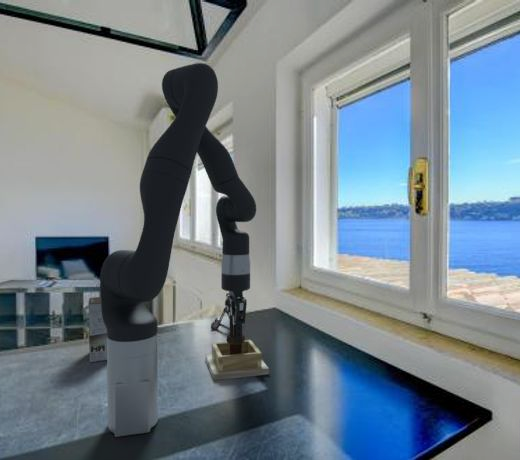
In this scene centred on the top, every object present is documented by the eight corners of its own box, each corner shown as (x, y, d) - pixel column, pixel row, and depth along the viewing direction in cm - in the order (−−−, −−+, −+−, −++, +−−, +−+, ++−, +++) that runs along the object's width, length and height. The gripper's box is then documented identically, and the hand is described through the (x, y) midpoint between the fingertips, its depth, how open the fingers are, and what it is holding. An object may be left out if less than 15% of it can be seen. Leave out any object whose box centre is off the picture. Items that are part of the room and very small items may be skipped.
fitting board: (268, 374, 99) (268, 354, 98) (213, 380, 95) (213, 360, 95) (254, 354, 112) (254, 337, 112) (205, 359, 108) (205, 341, 108)
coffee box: (114, 359, 108) (113, 301, 108) (89, 362, 106) (88, 303, 105) (112, 348, 117) (112, 295, 116) (89, 351, 114) (88, 297, 113)
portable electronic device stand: (216, 323, 145) (216, 300, 145) (237, 323, 144) (237, 301, 144) (210, 330, 136) (210, 306, 136) (233, 331, 135) (233, 307, 135)
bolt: (250, 355, 103) (250, 299, 103) (236, 360, 99) (236, 302, 99) (235, 350, 107) (235, 296, 107) (221, 355, 103) (221, 298, 103)
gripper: (256, 274, 97) (256, 343, 97) (243, 267, 110) (243, 327, 111) (227, 276, 95) (226, 345, 95) (217, 268, 108) (216, 329, 109)
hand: (235, 335), depth 103 cm, fingers closed on bolt, 4 cm apart
